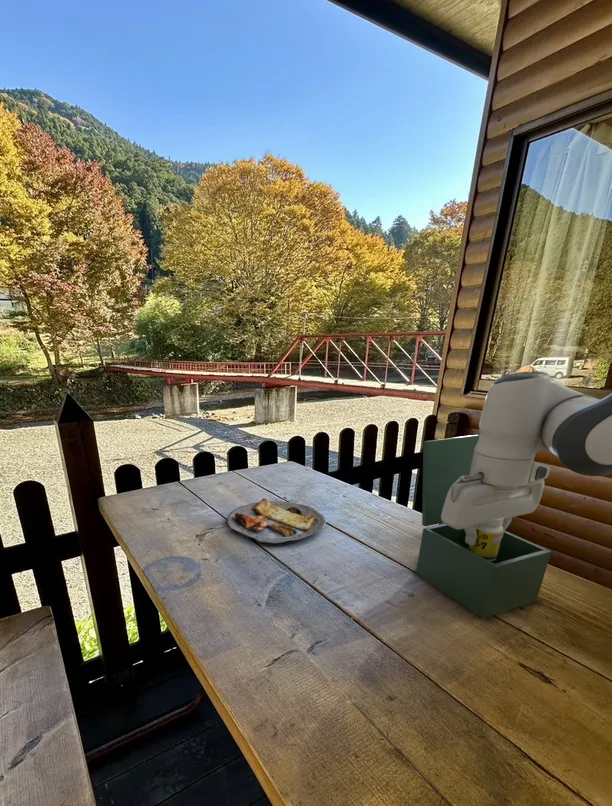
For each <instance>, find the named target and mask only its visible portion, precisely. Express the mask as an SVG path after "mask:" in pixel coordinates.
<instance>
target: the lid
mask: <svg viewBox="0 0 612 806" xmlns="http://www.w3.org/2000/svg"><path fill="white" fill-rule="evenodd" d="M479 437H480V434H472V435H464V436H456V437H447V438H439V439H432V440H424V441H423V445H422V446H423V449H422V450H423V452H422V455H423V456H422V504H421V505H422V508H421V510H422V511H421V513H422V514H421V526H423V527H431V526H435V525H439V523H443V521H442V519H441V514H442V510H443V506H444V503H445V499H446V497H447V494H448V491H449V489H450V488H451V486H452V484H453V483H455V482H456V481H457V480H458V479H459V477H460V476H463V475H469V474H470V469H471V464H472V459H473V454H474V449H475V446H476V444H477V442H478V440H479ZM459 482H460V481H459Z"/></svg>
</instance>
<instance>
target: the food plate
mask: <svg viewBox="0 0 612 806" xmlns="http://www.w3.org/2000/svg"><path fill="white" fill-rule="evenodd" d="M269 521H273V522H275V523H272V524H269ZM226 524H227V527H228V528H230V529H232V530H233V531H236V532H238V533H239V534H241V535H243V536H246V537H247V538H252V539H255V540H256V541H257V542H260V543H268V544H281V543H286V542H290V541H299V540H301V539H305V538H308V537H310V536H312V535H315V534H317V533H318V532H320V531H322V530H323V529H325V525H326V524H327V520H326V517H325V516H324V514H323V513H321V512H320V511H319V510H317V509H316V508H314V507H311V506H308V505H305V504H300V503H296V502H292V501H285V500H284V501H283V500H274V501H273V500H268V499H267V498H262V499H261V500H260V501H259V502H258V501H257V502H252V503H248V504H245V505H241V506H238V507H236V508H235V509H233V510H232V511H231V512H230V513H229V514H228V515H227V517H226ZM265 529H271V530H272V531H274V532H276V533H278V534H279V535H281V536H282V537H281V538H271V537H259V536H258V535H254V534H252V536H251V535H249V534H250V532H248V531H251V532H256V533H260V532H262V531H264V530H265ZM245 530H246V531H245ZM247 530H248V531H247ZM243 531H244V532H243ZM299 531H301V533H299V534H298V532H299ZM302 531H303V532H302ZM297 534H298V535H297Z"/></svg>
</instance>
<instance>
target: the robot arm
mask: <svg viewBox="0 0 612 806" xmlns="http://www.w3.org/2000/svg"><path fill="white" fill-rule="evenodd" d="M478 424H479V425H478V429H479V435H480V437H479V440H478V442H477V444H476V446H475V449H474V454H473V459H472V464H471V469H470V474H469V475H463V476H460V477H459V479H458V480H457V481H456V482H455V483H453V484H452V486H451V488H450V489H449V491H448V494H447V497H446V499H445V503H444V506H443V510H442V514H441V519H442V521H443V523H444V524H446V525H448V526H450V527H452V528H454V529H457V530H459V529H463V528H464V530H465V533H466V538H465V542H466V543H467V544H469V545H471V546H473V545H477V544H479V540H480V536H478V535H477V533H476V530H477V529H479V525H481V524H485V523H490V522H492V521H493V520H494V519H498V518H502V517H504V520H503V524H502V527H503V534H504V531H507V530H506V529H507V528H508V527H509V526H510V524H511V523H512V520H513V518H515V517H516V518H517V517H519V516H524V515H528V514H533V513H534V512H535V511H536V510H537V508H538V506H539V504H540V502H541V499H542V496H543V492H544V488H545V483H546V482H545V479H548V477H549V475H550V472H551V467H550V466H549V465H545V464H542V463H539V462H536V461H535V457H536V454H537V453H538V452H540V451H543V452H544V451H546V452H550V453H552V454H553V455H554V456H555V457H556V458H557V459H558V460H559V461H560V462H561V463H562V464H563V466H564V467H566V468H567V470H570V472H574V473H575V474H579V475H582V476H587V477H603V476H604V477H605V476H609V475H612V392H611V393H609V394H608V395H606V396H605V397H603V398H599V397H595V396H591V395H588V394H586V393H582V392H580V391H577V390H575V389H572V388H570V387H568V386H566V385H565V384H562V383H560V382H559V381H557V380H556V379H554V378H553V377H552V376H551V375H550V373H548V372H545V371H537V370H534V371H533V370H532V371H521V372H514V373H509V374H505V375H502V376H500V377H498V378H497V379H496V380H494V381H493V382H492V384H491V385H490V387H489V389H488V391H487V394H486V395H485V399H484V402H483V407H482V411H481V415H480V418H479V423H478ZM459 481H460V482H459ZM503 534H502V538H503Z"/></svg>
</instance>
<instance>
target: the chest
mask: <svg viewBox="0 0 612 806" xmlns="http://www.w3.org/2000/svg"><path fill="white" fill-rule="evenodd" d="M465 538H466V533H465V530H464V528H463V529H459V530H457V529H454V528H452V527H450V526H448V525H446V524H441V525H439V524H435V525H431V526H426V527H423V529H422V535H421V539H420V540H421V541H420V544H419V545H420V546H419V552H418V559H417V564H416V569H415V574H416V575H417V576H419V577H420V578H422V579H424V580H425V581H426V582H428V583H430V584H431V585H433V587H435V588H437V589H438V590H440V591H442V592H443V593H444V594H446V595H448V596H449V597H451V599H453V600H454V601H456V602H457V603H459V604H460V605H462V606H463V607H465V608H466V609H468V610H470V611H471V612H472V613H474V614H475V615H477V616H478V617H480V618H481V619H486V618H490V617H493V616H495V615H499V614H502V613H504V612H506V611H509V610H512V609H516V608H519V607H522V606H524V605H527V604H530V603H534V602H537V601H538V598H539V595H540V591H541V588H542V585H543V581H544V577H545V576H546V575H545V574H546V571H547V568H548V565H549V562H550V558H551V554H552V550H550V549H547V548H545V547H543V546H540V545H538V544H535V543H534V542H531V541H529V540H527V539H524V538H522V537H520V536H518V535H516V534H513V533H511V532H509V531H507V530H504V534H503V538H501V542H500V546H499V550H498V554H497V557H496V559H495V560H494V561H491V562H490V561H488V560H486V559H484V558H483V557H481V556H479V555H477V554H475V553H473V552H471V551H469V550H468V547H469V544H467V543H466V542H465Z"/></svg>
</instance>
